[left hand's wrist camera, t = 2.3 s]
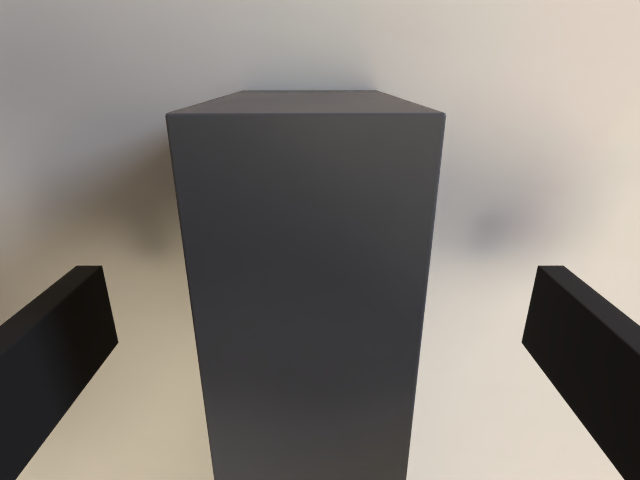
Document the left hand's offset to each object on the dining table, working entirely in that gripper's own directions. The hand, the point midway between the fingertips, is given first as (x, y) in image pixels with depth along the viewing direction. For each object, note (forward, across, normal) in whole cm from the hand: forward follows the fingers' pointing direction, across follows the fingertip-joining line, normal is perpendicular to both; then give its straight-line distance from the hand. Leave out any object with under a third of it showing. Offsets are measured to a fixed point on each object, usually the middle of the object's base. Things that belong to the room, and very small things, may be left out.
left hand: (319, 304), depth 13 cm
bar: (+5, 0, -29) cm, 30 cm away
